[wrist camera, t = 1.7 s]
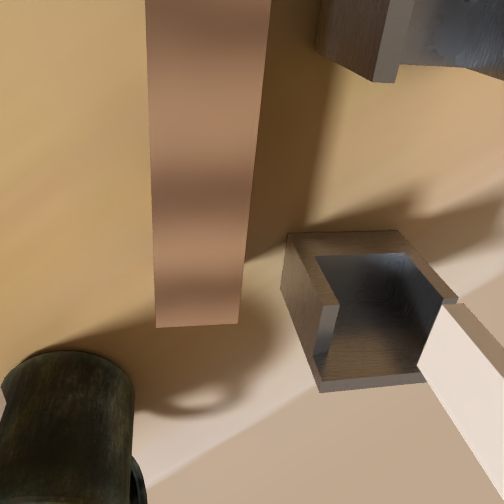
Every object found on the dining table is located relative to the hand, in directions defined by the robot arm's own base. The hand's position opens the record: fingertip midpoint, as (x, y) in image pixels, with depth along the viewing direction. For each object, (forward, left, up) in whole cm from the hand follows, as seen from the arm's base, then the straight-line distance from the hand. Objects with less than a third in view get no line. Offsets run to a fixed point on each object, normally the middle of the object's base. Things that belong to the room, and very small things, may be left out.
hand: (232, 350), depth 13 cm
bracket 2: (+8, +11, -16) cm, 21 cm away
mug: (+22, -9, -17) cm, 29 cm away
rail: (0, 0, -17) cm, 17 cm away
